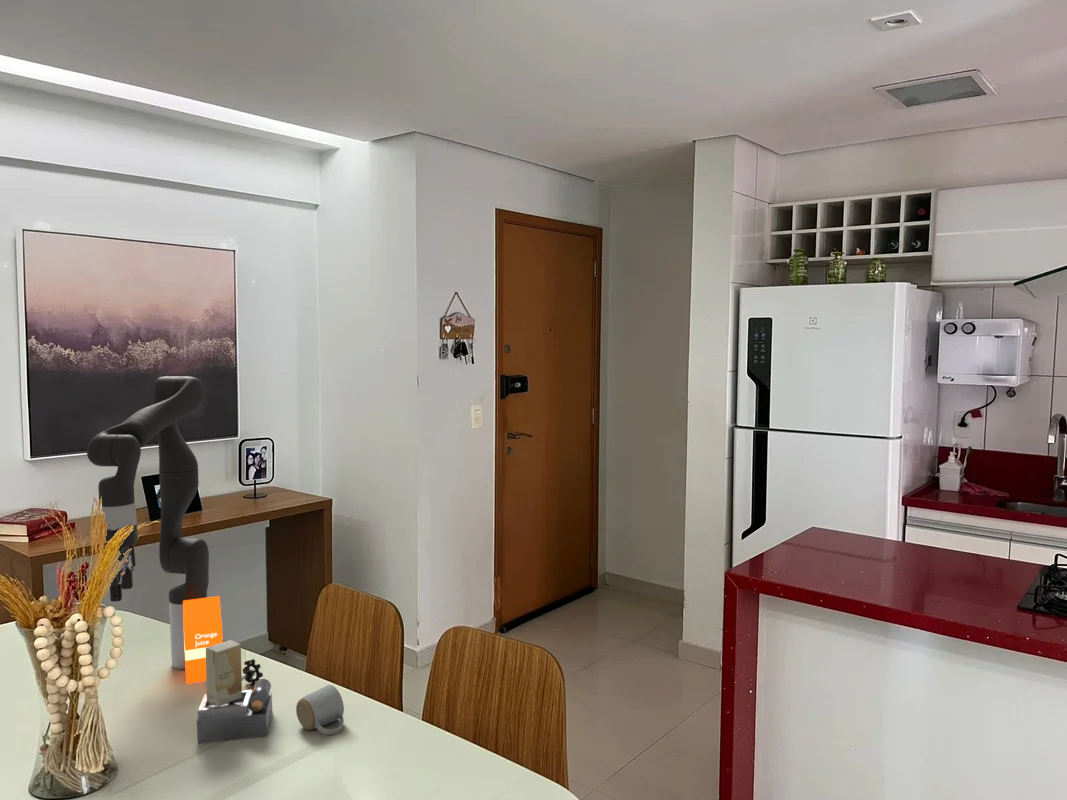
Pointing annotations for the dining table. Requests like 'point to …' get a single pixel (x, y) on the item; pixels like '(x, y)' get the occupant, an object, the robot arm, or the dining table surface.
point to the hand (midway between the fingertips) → (122, 594)
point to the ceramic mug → (321, 709)
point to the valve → (251, 672)
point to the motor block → (237, 716)
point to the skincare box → (223, 673)
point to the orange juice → (200, 634)
